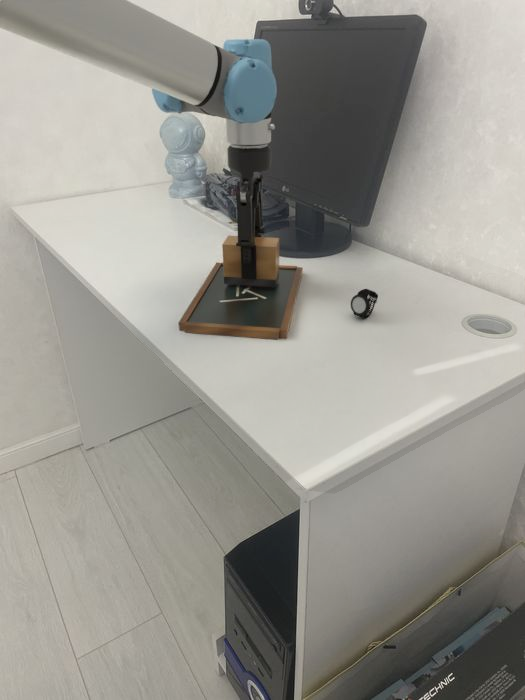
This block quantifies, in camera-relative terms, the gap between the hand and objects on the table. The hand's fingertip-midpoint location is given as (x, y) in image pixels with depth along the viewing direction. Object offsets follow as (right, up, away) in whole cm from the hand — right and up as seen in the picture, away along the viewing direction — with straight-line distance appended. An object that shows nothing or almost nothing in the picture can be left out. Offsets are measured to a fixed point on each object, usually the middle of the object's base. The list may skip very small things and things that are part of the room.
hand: (251, 272), depth 100 cm
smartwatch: (+20, -9, -8) cm, 24 cm away
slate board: (-1, -5, -2) cm, 6 cm away
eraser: (0, -2, +1) cm, 2 cm away
